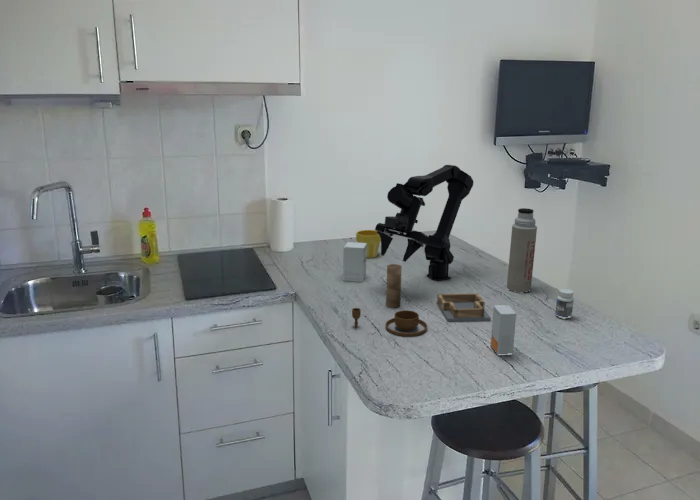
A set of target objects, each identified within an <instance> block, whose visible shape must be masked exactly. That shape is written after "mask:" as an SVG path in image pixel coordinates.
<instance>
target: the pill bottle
mask: <svg viewBox="0 0 700 500" xmlns="http://www.w3.org/2000/svg"><path fill="white" fill-rule="evenodd" d="M573 296H574V291H573V290H572V289H568V288H561V289H559V291H558V296H557V298H556V306H555V312H554V315H555V314H556V315H558V316H562V317H568V316H571V315H573V309H574V308H573V307H574V300H575V299H574V297H573Z"/></svg>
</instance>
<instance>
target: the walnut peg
mask: <svg viewBox="0 0 700 500" xmlns="http://www.w3.org/2000/svg"><path fill="white" fill-rule="evenodd" d="M402 268H403V267H402V265H400V264H396V263H395V264H394V263H392V264H391V263H390V264H387V266H386V297H385V306H386V307H387V308H389V309H397V308H398V309H399V308H400V307H401V299H402V298H401V296H402V295H401V294H402V292H401V291H402V271H403V270H402Z"/></svg>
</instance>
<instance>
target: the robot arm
mask: <svg viewBox="0 0 700 500" xmlns="http://www.w3.org/2000/svg"><path fill="white" fill-rule="evenodd" d="M445 182H446V183H447V187H446V188H447V193H448V197H447V200H446V203H445V206H444V208H443V212H442V213H441V215H440V219H439V222H438V226H437V228H436V231H435V233H433V234H432V235H431V234H429V235H427V234H426V233H423V232H422V231H418V230H414V226H415V224H418V223H419V220H418V219H417V218H418V215H419V212H420V209H421V206H423V207H425V206H426V203H425V200H424V197H426V196H429V194H430V193H432V192H433V189H434V188H435V187H436V186H439V185H440V184H442V183H445ZM473 186H474V180H473V177H472V176H471V175H469V174H468V173H467V172H466V171H464V170H461V168H460V167H459V166H457V165H452V164H445V165H443V166H442V167H440V168H438V169H436V170H434V171H432V172H429V173H428V174H423V175H415V176H411V177H409V178H408V180H407V181H406V182H405V183H404V184H403V183H396V185H395V186H394V187H392V188H391V189H389V190H388V192H387V200H388V202H389V203H391V204H392V205H393V206H396V207H397V208H399V209H400V212H397V213H396V214H395V216H394V215H393V216H390V215H389V216H388V215H387V216H385V218H384V223H382V222H378V223H377V224H376V225H375V227H374V230H376V231H377V233H378V234H379V235H380V238H381V242H380V255H381V256H383V257H384V256H385V255H386V253H387V251H388V249H389V247H390V245H391V244H392V243H391V242H393V236H394V235H395V236H397V237H403V238H406V239H407V247H406V249H405V252H404V255H403V258H402V262H404V263H405V262H407V261H408V260H409V259H410V258H411V256H412V255H414V254H415V253H416V251H418V250H419V249H420V248H423V247H424V249H423V251H424V255H425V260H426V261H429V264H428V272H427V274H426V277H428V278H430V279H431V280H434V281H443V280H448V279H449V280H450V279H451V278H452V277H451V276H449V265H451V264H452V263H453V262H454V260H455V259H454V258H455V256H454V255H453V253H452V252H451V251H450V249H451V247H452V246H451V241H450V235H451V232H452V229H453V227H454V224H455V222H456V221H455V220H456V218H457V215H458V213H459V209H460V207H461V204H462V201H463V199H465V198H466V197H468V195H470V193H471V190H472V188H473ZM421 196H422V197H421Z"/></svg>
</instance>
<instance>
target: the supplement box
mask: <svg viewBox="0 0 700 500" xmlns="http://www.w3.org/2000/svg"><path fill="white" fill-rule="evenodd" d="M342 259H343V263H342V265H343V273H342V274H343V275H342V276H343V277H342V278H343V281H344V282H345V281H346V282H354V283H355V282H356V283H357V282H358V283H363V282H364V281H365V278H366V277H367V259H368V258H367V243H358V242H357V241H356V242H355V241H354V242H351V241H347V242H346V243H345V245H344V246H343V258H342Z"/></svg>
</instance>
